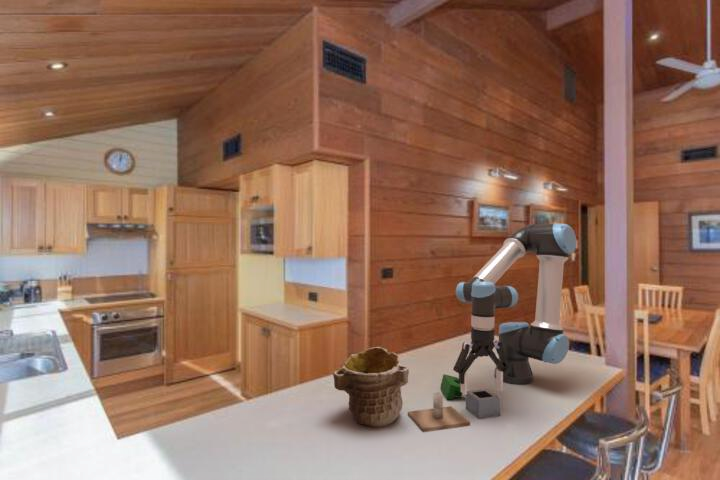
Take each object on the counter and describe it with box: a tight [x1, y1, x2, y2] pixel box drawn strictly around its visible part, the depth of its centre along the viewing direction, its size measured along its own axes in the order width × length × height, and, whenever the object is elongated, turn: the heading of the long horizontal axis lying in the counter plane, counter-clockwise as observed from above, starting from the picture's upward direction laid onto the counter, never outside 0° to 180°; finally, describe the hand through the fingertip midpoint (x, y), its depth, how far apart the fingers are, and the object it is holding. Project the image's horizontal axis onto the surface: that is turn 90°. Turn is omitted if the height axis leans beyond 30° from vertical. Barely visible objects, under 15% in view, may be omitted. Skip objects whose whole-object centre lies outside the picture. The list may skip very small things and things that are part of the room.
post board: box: [407, 392, 471, 433], centre depth 126 cm, size 16×12×8 cm
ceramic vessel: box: [332, 346, 410, 428], centre depth 127 cm, size 23×24×25 cm
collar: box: [465, 388, 501, 420], centre depth 132 cm, size 8×8×6 cm
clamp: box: [440, 373, 464, 401], centre depth 147 cm, size 12×6×9 cm, turn 175°
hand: (481, 391), depth 132 cm, fingers open, 13 cm apart
